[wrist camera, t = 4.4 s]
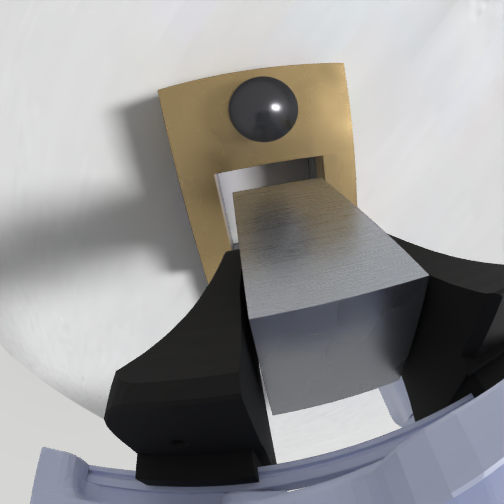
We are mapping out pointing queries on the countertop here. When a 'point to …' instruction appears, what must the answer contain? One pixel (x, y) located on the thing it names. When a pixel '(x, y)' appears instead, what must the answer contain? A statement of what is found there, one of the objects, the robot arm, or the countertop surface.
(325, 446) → the countertop surface
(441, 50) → the countertop surface
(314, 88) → the brass plate with knob
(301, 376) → the grey metal block
